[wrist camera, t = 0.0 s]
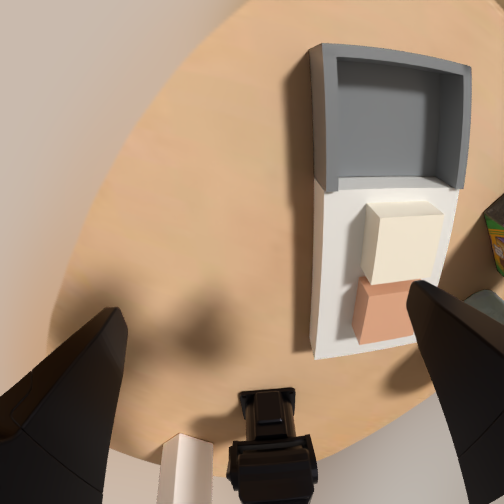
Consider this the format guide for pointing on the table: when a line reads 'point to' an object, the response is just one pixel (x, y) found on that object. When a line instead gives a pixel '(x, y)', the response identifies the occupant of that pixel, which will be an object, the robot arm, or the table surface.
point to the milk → (186, 471)
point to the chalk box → (496, 231)
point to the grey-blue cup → (488, 304)
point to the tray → (388, 114)
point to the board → (360, 252)
